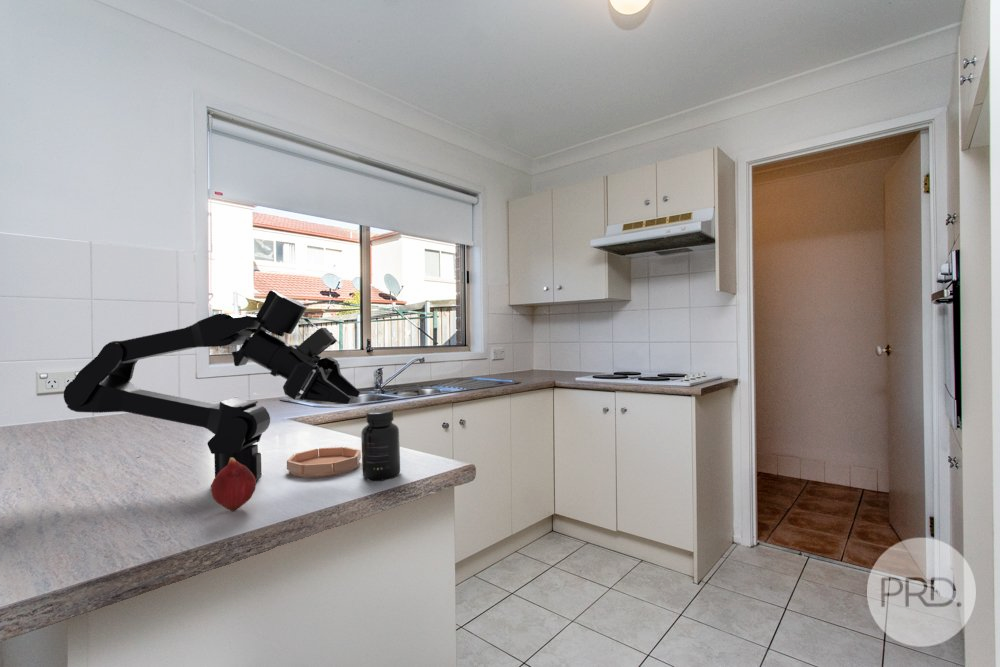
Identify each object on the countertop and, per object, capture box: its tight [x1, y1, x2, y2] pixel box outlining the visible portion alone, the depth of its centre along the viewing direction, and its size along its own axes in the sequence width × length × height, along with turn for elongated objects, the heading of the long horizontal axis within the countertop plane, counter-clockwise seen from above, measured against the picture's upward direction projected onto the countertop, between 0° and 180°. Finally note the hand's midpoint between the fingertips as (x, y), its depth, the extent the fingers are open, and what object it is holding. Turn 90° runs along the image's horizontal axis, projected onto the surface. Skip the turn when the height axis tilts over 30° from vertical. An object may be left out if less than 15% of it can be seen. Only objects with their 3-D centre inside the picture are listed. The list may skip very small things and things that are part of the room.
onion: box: [210, 458, 257, 512], centre depth 72 cm, size 6×6×8 cm
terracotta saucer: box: [286, 446, 362, 479], centre depth 94 cm, size 13×13×2 cm
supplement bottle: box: [360, 408, 401, 482], centre depth 88 cm, size 7×7×12 cm
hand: (354, 397), depth 88 cm, fingers open, 9 cm apart
